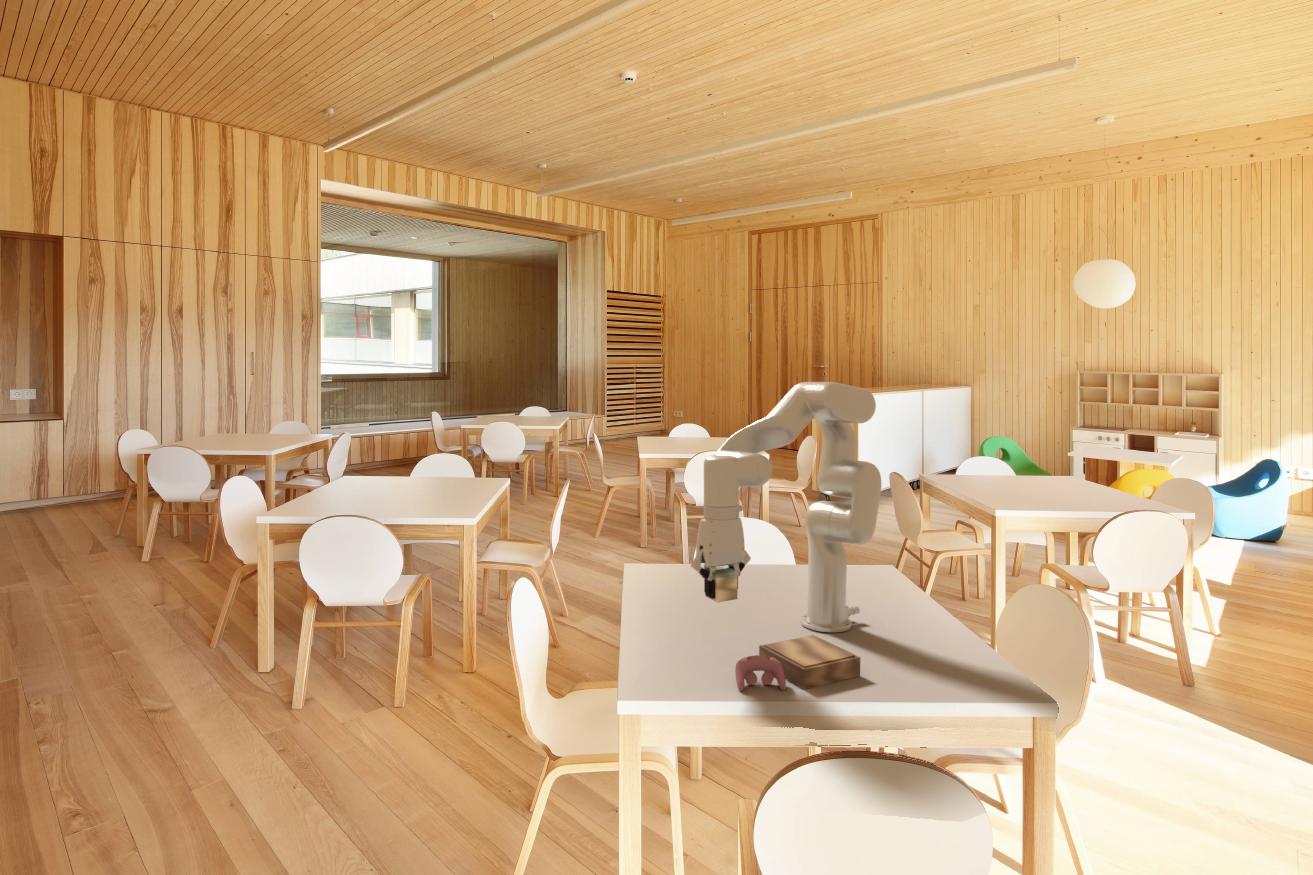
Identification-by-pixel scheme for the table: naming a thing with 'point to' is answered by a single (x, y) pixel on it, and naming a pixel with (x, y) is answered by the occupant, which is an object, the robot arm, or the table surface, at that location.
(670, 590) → the table surface
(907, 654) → the table surface
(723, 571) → the maple block
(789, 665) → the walnut plinth
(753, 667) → the video game controller
